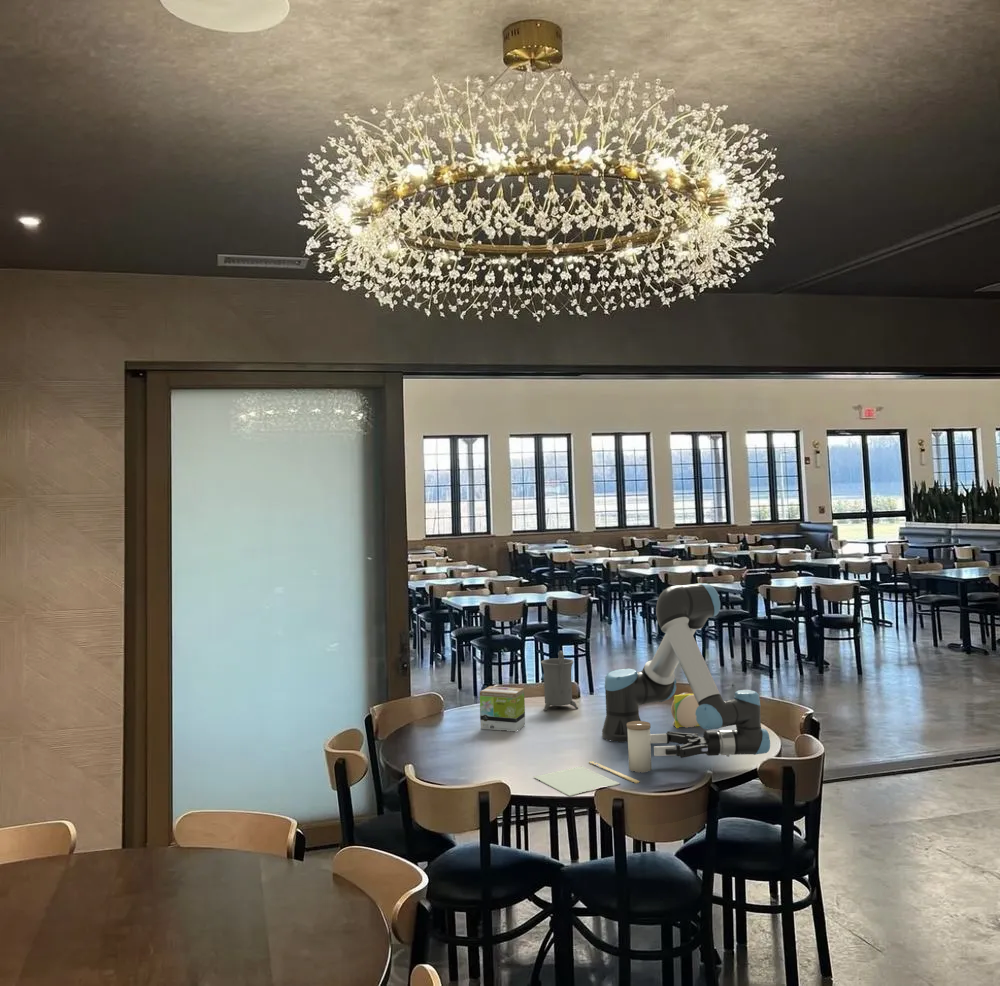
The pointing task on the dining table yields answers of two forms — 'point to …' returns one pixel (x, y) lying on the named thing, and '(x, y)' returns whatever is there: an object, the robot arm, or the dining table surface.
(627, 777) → the tan wooden stick
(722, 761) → the dining table surface
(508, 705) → the tea box
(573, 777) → the mat
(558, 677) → the grey footed bucket
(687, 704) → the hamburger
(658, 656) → the robot arm
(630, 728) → the canister
